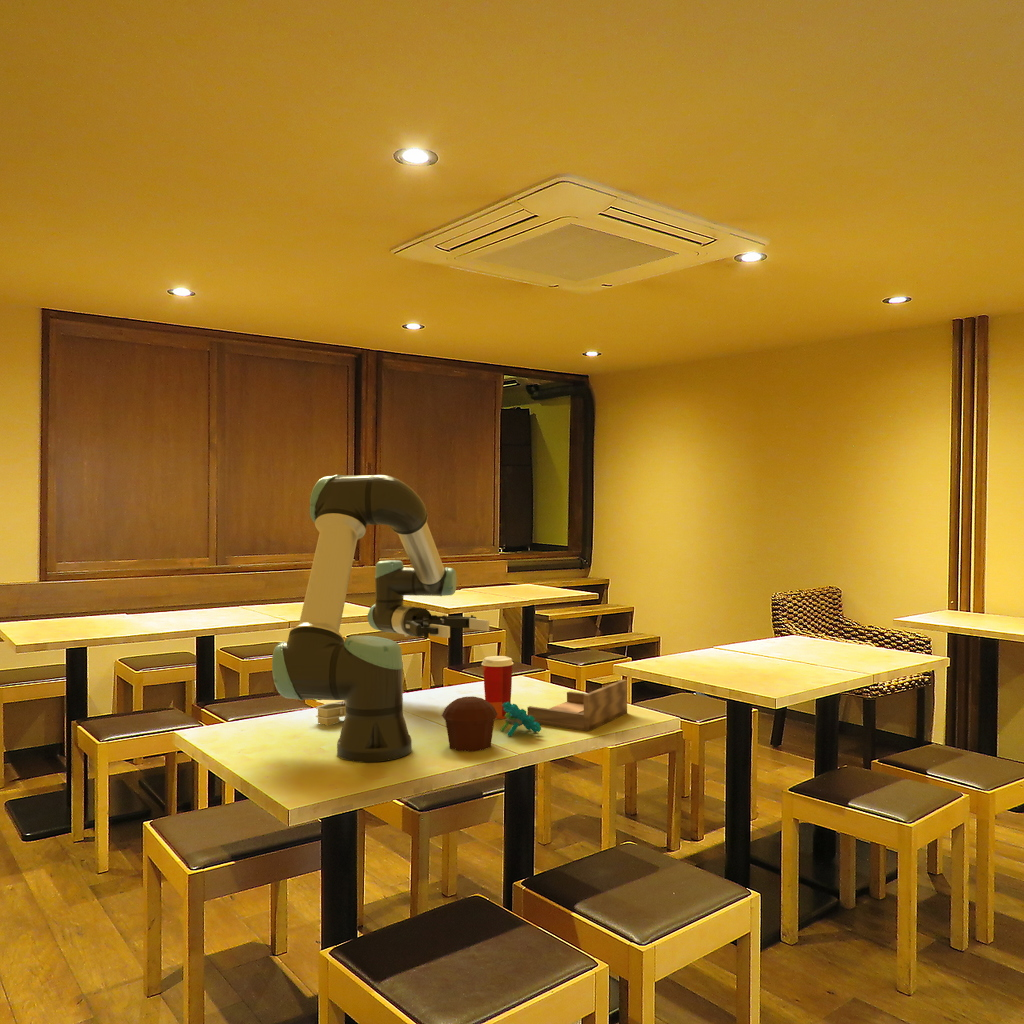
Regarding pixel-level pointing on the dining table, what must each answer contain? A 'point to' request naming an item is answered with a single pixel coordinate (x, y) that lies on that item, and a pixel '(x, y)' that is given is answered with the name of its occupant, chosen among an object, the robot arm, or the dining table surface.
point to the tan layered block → (330, 711)
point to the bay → (585, 708)
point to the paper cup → (498, 682)
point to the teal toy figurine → (518, 719)
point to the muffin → (469, 724)
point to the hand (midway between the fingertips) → (469, 628)
